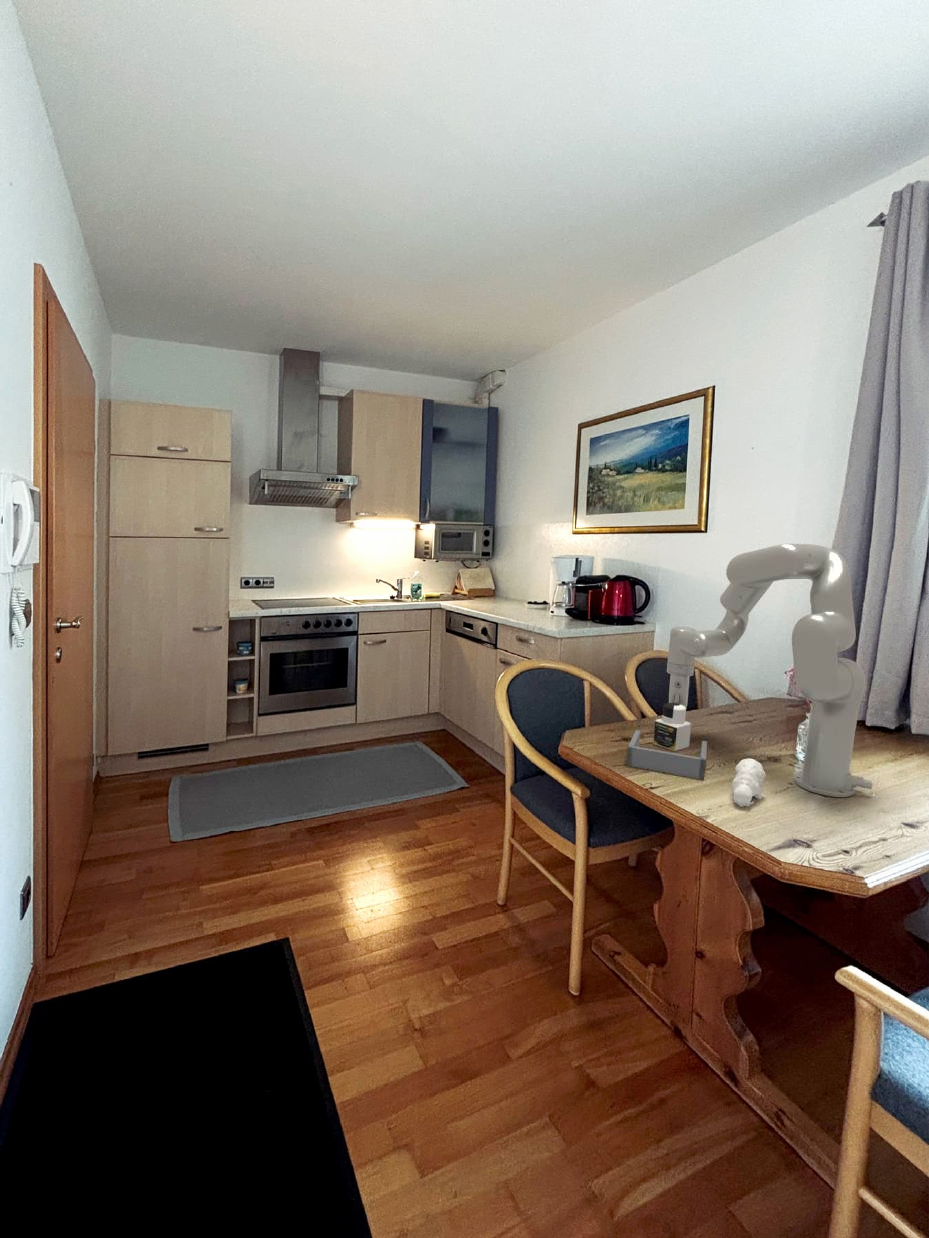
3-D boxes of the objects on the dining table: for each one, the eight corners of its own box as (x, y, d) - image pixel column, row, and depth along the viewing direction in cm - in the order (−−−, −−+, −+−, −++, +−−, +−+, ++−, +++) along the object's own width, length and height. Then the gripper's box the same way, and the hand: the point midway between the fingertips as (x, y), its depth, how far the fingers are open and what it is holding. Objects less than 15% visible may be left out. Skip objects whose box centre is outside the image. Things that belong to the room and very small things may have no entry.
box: (705, 759, 160) (707, 741, 160) (703, 779, 146) (705, 760, 146) (634, 747, 167) (635, 729, 167) (626, 765, 153) (628, 746, 153)
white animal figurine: (767, 759, 138) (759, 780, 128) (764, 793, 140) (755, 816, 130) (738, 752, 141) (727, 772, 131) (734, 786, 143) (724, 808, 133)
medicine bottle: (652, 743, 171) (656, 703, 169) (667, 739, 175) (671, 699, 174) (674, 751, 165) (678, 709, 164) (689, 747, 170) (693, 706, 168)
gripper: (692, 675, 170) (686, 737, 173) (694, 665, 184) (689, 723, 187) (664, 671, 173) (659, 733, 176) (669, 662, 187) (663, 719, 190)
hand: (674, 727), depth 181 cm, fingers closed
